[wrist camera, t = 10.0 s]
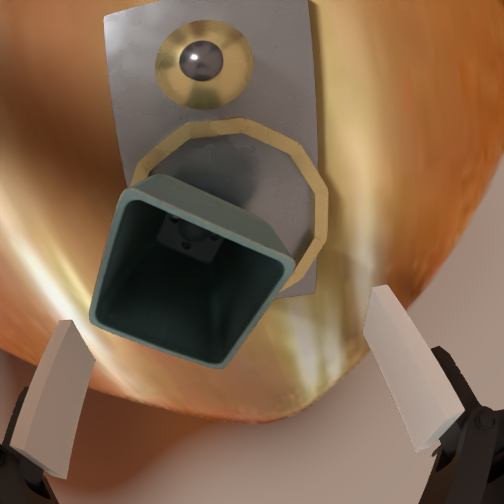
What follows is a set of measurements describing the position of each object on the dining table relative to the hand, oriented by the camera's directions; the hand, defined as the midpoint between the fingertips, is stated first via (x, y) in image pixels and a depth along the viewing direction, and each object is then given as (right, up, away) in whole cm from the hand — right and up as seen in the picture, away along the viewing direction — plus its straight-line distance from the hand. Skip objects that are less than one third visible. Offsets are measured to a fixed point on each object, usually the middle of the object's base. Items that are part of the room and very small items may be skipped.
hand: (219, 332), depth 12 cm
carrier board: (-1, +10, +9) cm, 14 cm away
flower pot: (-3, +5, +10) cm, 12 cm away
